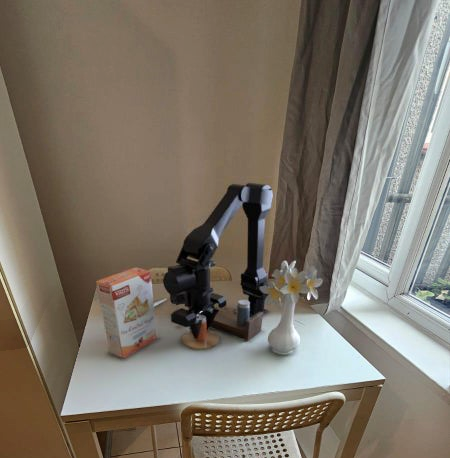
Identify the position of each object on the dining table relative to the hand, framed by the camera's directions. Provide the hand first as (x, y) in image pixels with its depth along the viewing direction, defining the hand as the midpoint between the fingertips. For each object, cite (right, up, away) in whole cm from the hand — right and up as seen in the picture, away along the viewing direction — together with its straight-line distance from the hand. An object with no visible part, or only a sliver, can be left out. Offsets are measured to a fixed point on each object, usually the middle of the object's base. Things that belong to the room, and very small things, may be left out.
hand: (200, 335), depth 101 cm
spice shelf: (+7, +5, +9) cm, 13 cm away
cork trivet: (0, -1, +1) cm, 2 cm away
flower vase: (+24, -5, -3) cm, 25 cm away
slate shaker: (+13, +4, +4) cm, 14 cm away
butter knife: (-21, +10, +15) cm, 28 cm away
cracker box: (-19, -4, -3) cm, 20 cm away
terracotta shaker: (0, -1, +1) cm, 1 cm away
